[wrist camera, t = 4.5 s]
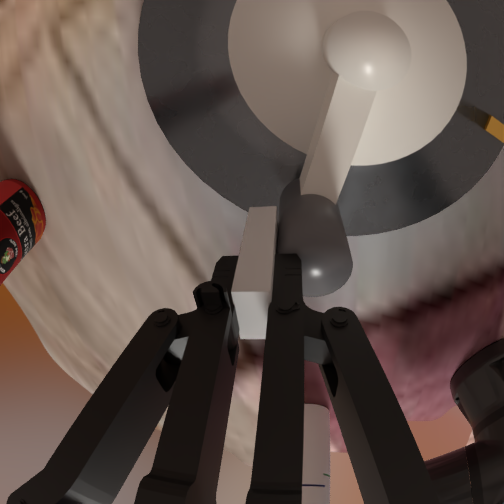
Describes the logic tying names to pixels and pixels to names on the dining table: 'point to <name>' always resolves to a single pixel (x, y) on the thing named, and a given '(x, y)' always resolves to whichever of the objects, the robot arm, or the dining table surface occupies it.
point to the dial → (343, 102)
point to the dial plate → (292, 160)
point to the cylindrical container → (316, 455)
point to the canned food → (18, 223)
